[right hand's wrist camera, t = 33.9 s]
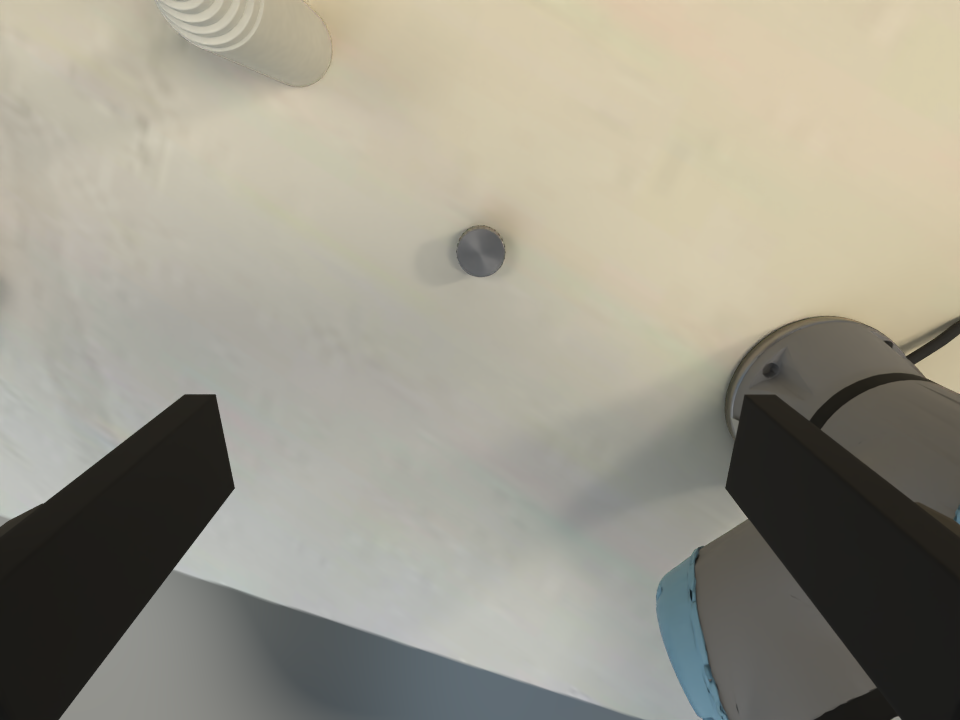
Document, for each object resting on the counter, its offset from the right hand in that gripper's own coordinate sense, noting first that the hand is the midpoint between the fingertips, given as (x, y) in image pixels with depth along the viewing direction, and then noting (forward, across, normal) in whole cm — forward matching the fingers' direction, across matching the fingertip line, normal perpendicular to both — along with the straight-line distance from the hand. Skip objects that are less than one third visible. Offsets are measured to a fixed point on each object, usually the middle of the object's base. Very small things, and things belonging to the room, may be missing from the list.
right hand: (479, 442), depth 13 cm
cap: (+30, 0, 0) cm, 30 cm away
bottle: (+32, +14, -15) cm, 37 cm away
